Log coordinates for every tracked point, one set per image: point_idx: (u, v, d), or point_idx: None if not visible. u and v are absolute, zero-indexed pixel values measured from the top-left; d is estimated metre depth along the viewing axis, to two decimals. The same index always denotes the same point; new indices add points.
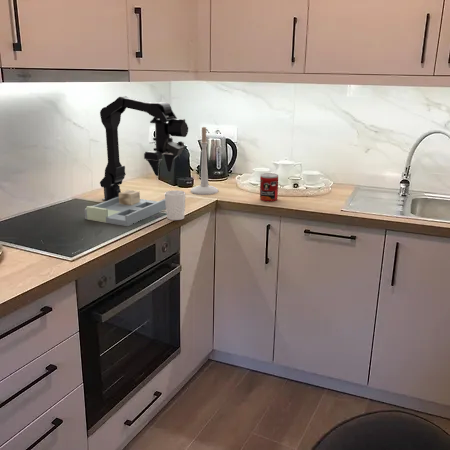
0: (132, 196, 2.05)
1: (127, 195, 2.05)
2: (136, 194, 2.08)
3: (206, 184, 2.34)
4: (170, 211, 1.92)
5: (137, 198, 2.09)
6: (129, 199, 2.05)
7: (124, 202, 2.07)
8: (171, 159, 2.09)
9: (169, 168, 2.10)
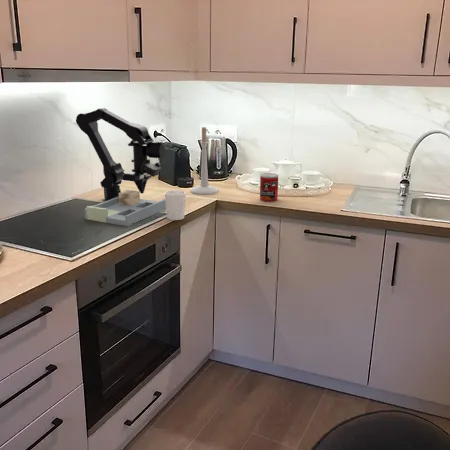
0: (132, 196, 2.05)
1: (127, 195, 2.05)
2: (136, 194, 2.08)
3: (206, 184, 2.34)
4: (170, 211, 1.92)
5: (137, 198, 2.09)
6: (129, 199, 2.05)
7: (124, 202, 2.07)
8: (144, 181, 2.15)
9: None
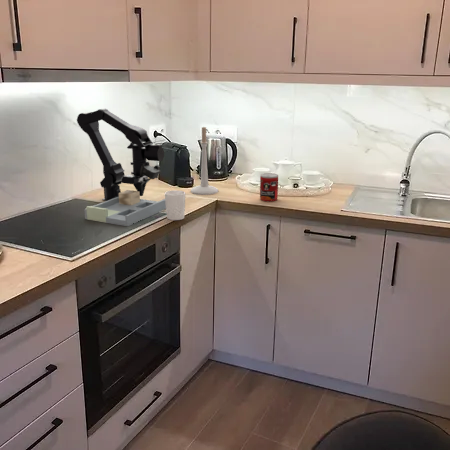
0: (132, 196, 2.05)
1: (127, 195, 2.05)
2: (136, 194, 2.08)
3: (206, 184, 2.34)
4: (170, 211, 1.92)
5: (137, 198, 2.09)
6: (129, 199, 2.05)
7: (124, 202, 2.07)
8: (143, 184, 2.15)
9: None
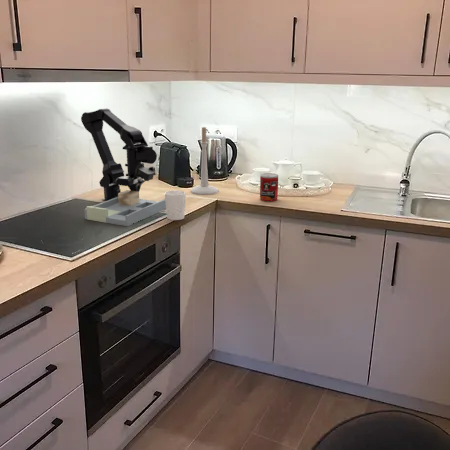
0: (131, 196, 2.05)
1: (126, 195, 2.05)
2: (135, 194, 2.08)
3: (206, 184, 2.34)
4: (170, 211, 1.92)
5: (136, 198, 2.09)
6: (129, 199, 2.05)
7: (123, 202, 2.06)
8: (138, 186, 2.12)
9: None
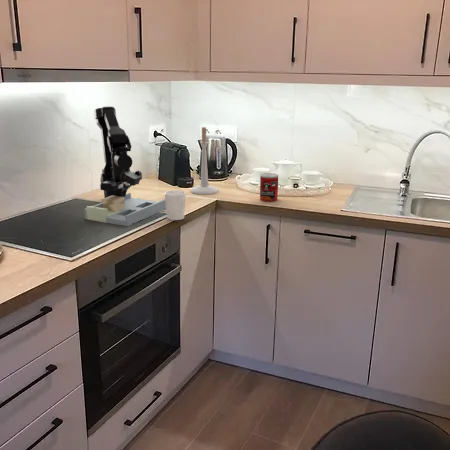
0: (116, 202, 1.97)
1: (111, 201, 1.96)
2: (121, 200, 1.99)
3: (206, 184, 2.34)
4: (170, 211, 1.92)
5: (122, 204, 2.00)
6: (114, 205, 1.97)
7: (108, 208, 1.98)
8: (124, 191, 2.03)
9: None
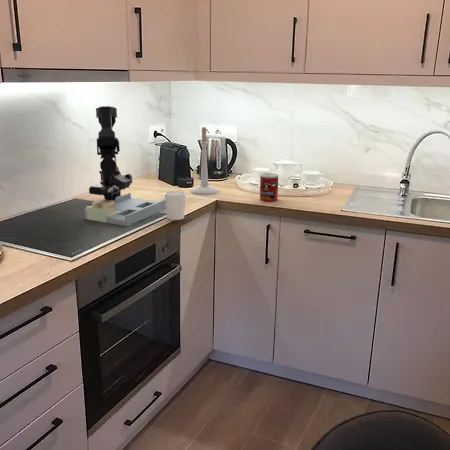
0: (106, 206, 1.91)
1: (101, 205, 1.91)
2: (111, 204, 1.94)
3: (206, 184, 2.34)
4: (170, 211, 1.92)
5: (112, 208, 1.95)
6: None
7: None
8: (113, 194, 1.98)
9: None
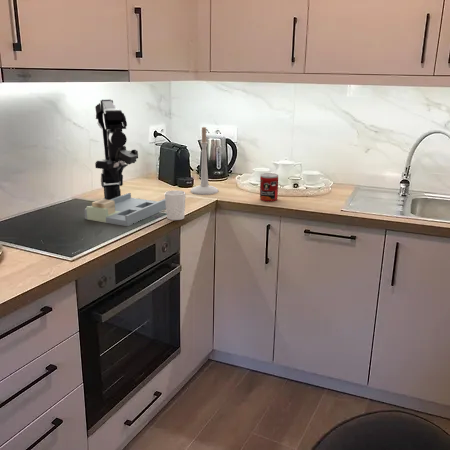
0: (106, 206, 1.91)
1: (101, 205, 1.91)
2: (111, 204, 1.94)
3: (206, 184, 2.34)
4: (170, 211, 1.92)
5: (112, 208, 1.95)
6: None
7: None
8: (119, 170, 1.99)
9: None
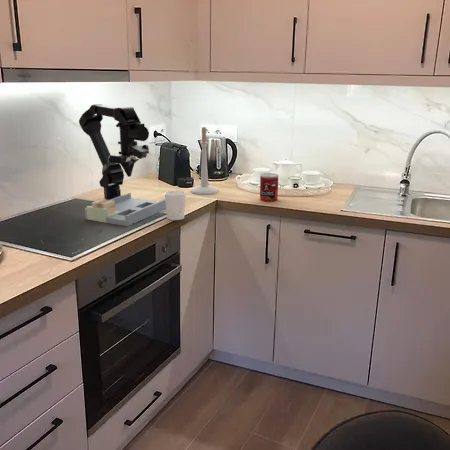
0: (106, 206, 1.91)
1: (101, 205, 1.91)
2: (111, 204, 1.94)
3: (206, 184, 2.34)
4: (170, 211, 1.92)
5: (112, 208, 1.95)
6: None
7: None
8: (131, 164, 2.10)
9: None
